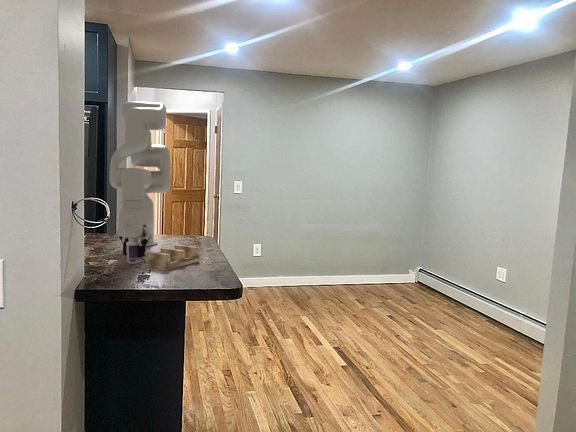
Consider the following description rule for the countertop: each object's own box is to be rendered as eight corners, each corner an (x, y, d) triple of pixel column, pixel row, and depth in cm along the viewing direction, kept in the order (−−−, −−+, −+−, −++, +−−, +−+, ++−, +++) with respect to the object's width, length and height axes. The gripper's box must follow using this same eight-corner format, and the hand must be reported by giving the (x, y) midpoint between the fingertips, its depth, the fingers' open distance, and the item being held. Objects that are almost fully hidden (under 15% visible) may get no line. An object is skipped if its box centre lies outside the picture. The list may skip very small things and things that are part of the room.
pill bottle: (145, 262, 164) (145, 235, 163) (133, 264, 160) (133, 237, 159) (135, 260, 167) (134, 233, 166) (123, 262, 162) (122, 235, 161)
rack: (144, 266, 157) (144, 251, 156) (177, 258, 172) (177, 244, 171) (168, 270, 153) (167, 254, 152) (199, 261, 167) (199, 247, 167)
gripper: (106, 204, 162) (108, 254, 164) (144, 207, 154) (145, 260, 156) (123, 202, 168) (124, 251, 170) (160, 205, 161) (160, 256, 163)
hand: (134, 255), depth 163 cm, fingers open, 6 cm apart
